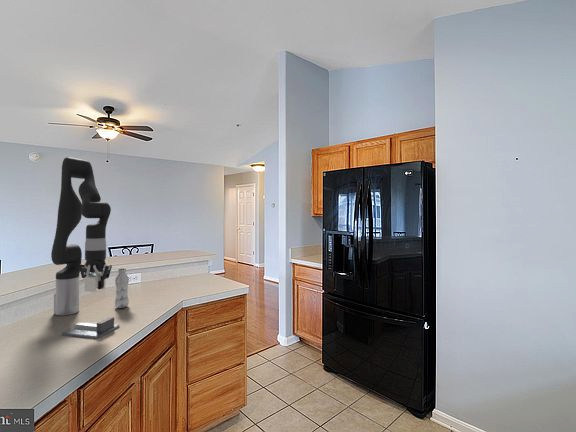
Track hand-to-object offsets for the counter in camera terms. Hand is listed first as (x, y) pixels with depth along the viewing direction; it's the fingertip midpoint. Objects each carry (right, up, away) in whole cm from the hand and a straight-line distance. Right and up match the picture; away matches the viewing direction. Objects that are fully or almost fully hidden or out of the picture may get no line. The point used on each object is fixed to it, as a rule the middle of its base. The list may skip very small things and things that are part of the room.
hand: (95, 288), depth 124 cm
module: (0, -1, 0) cm, 1 cm away
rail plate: (0, -17, -2) cm, 17 cm away
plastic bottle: (-4, -17, +27) cm, 32 cm away
